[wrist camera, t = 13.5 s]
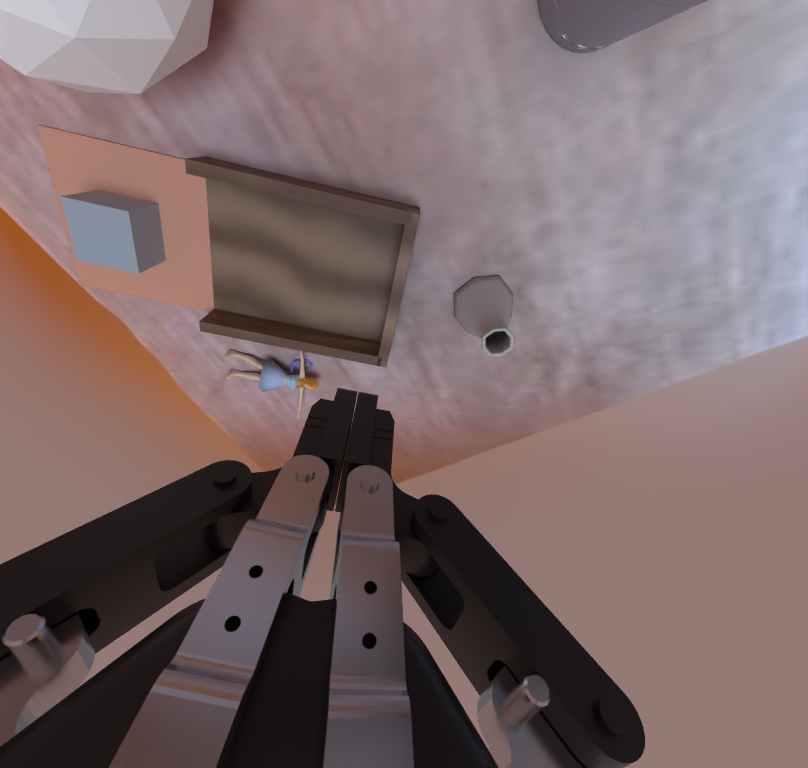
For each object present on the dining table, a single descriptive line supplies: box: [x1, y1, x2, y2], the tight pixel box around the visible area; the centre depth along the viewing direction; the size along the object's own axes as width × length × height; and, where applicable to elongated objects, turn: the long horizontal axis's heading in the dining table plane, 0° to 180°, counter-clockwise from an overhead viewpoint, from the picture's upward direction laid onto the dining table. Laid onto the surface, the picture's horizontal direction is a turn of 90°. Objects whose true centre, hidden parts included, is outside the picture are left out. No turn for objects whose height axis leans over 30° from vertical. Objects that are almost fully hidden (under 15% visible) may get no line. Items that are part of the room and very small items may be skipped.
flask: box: [454, 276, 514, 357], centre depth 41 cm, size 7×7×10 cm
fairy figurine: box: [224, 350, 318, 418], centre depth 50 cm, size 12×5×12 cm
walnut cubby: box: [185, 157, 420, 367], centre depth 42 cm, size 17×22×4 cm
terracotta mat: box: [38, 125, 214, 312], centre depth 41 cm, size 16×16×1 cm
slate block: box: [60, 190, 166, 274], centre depth 39 cm, size 6×6×5 cm
